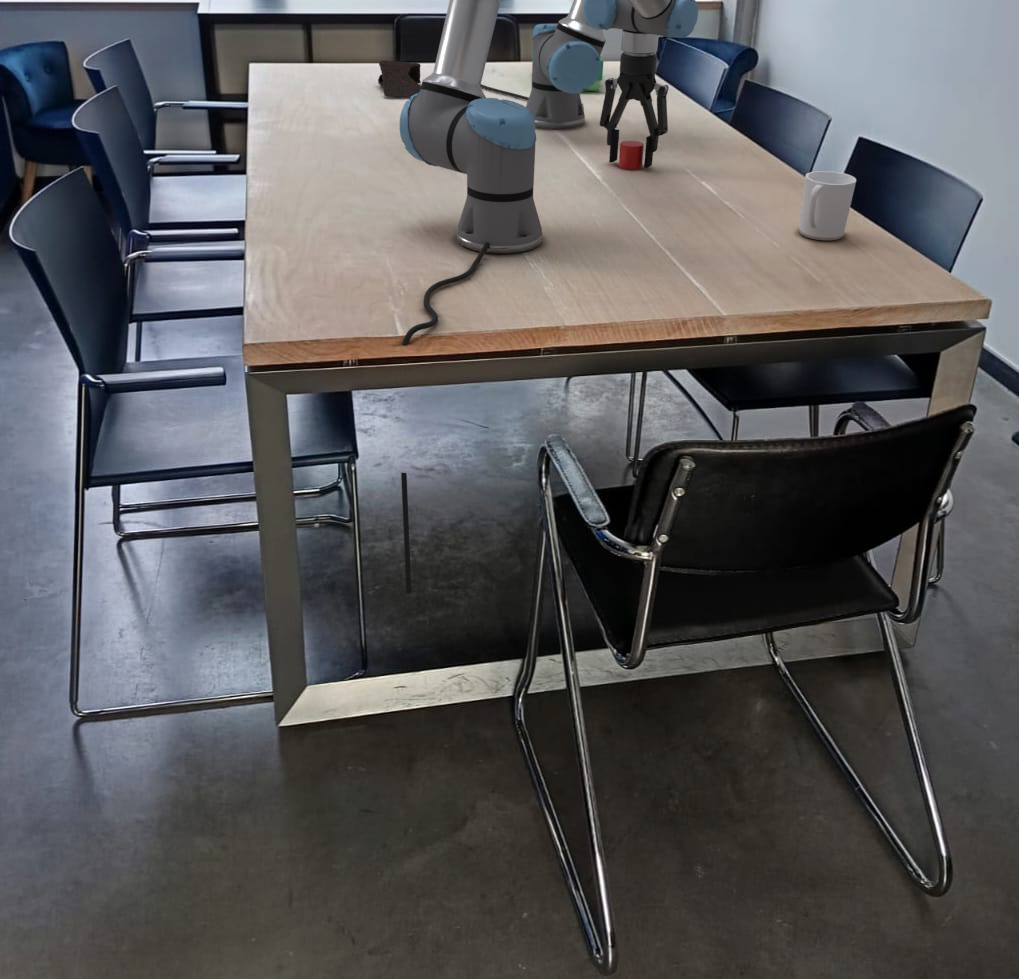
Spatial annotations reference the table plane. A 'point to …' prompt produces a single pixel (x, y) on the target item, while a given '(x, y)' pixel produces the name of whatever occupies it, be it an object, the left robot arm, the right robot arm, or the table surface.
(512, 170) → the left robot arm
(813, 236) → the mug
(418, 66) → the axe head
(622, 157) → the red cylinder
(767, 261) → the table surface
